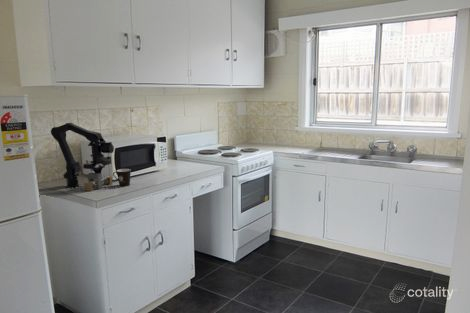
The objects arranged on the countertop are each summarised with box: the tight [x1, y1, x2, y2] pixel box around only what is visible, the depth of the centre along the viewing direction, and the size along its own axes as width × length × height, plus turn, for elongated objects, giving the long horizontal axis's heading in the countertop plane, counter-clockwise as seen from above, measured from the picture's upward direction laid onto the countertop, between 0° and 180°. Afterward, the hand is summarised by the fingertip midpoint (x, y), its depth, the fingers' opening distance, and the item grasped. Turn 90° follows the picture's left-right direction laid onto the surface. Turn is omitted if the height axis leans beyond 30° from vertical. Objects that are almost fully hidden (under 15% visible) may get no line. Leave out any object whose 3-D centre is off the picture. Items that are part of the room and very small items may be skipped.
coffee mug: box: [112, 168, 132, 188], centre depth 235 cm, size 12×9×10 cm
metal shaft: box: [83, 175, 113, 192], centre depth 230 cm, size 19×5×5 cm, turn 158°
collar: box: [87, 172, 103, 190], centre depth 227 cm, size 3×8×9 cm, turn 68°
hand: (98, 177), depth 230 cm, fingers closed
